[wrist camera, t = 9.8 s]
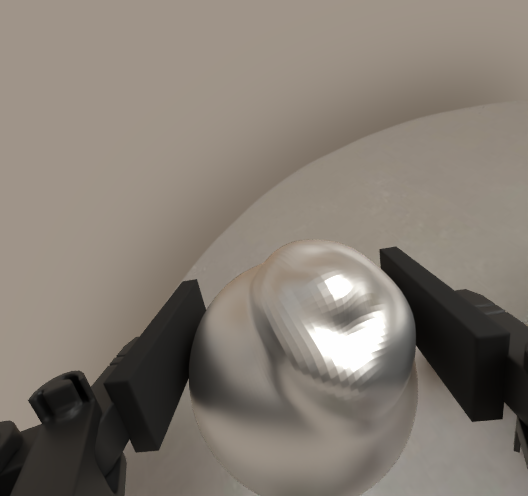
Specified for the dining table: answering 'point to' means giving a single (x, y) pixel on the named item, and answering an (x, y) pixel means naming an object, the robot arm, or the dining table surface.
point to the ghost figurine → (306, 373)
